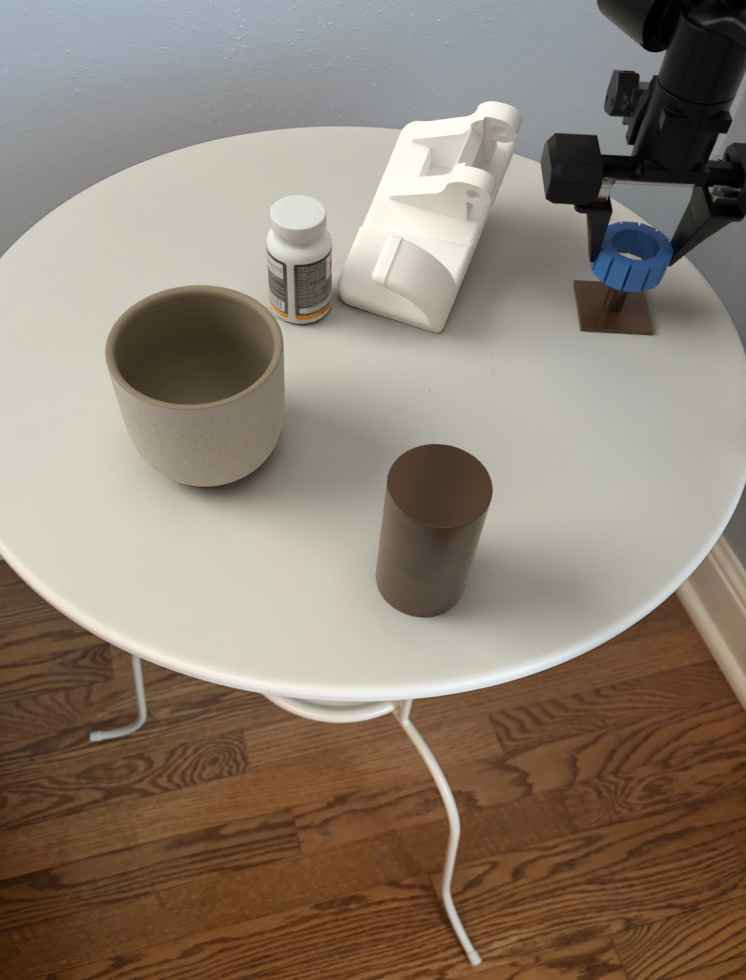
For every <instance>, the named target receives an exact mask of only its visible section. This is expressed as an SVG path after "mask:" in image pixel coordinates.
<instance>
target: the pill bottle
mask: <svg viewBox="0 0 746 980" xmlns="http://www.w3.org/2000/svg"><path fill="white" fill-rule="evenodd" d="M269 224H270V225H269V226H270V229H269V230H268V233H267V234H266V240H265V247H266V248H265V249H266V260H267V261H266V262H267V263H266V264H267V274H268V275H267V278H268V295H269V304H270V308H271V309H272V311H273V313H274V314H275V316H277V317H278V318H280V319H282V320H283V321H285V322H287V323H292V324H297V325H304V324H311V323H314V322H317V321H319V320H321V319H322V318H324V317H325V316H326V315H328V312H329V310H330V309H331V306H332V296H333V295H332V293H333V292H332V291H333V289H332V288H333V285H332V282H333V281H332V280H333V279H332V278H333V277H332V275H333V274H332V273H333V272H332V271H333V266H332V263H333V241H332V237H331V234H330V232H329V230H328V228H327V224H328V219H327V209H326V207H325V205H324V204H323V203H322V201H320V200H318V199H317V198H315V197H312V196H310V195H303V194H293V195H287V196H284V197H282V198H280V199H278V200H277V201H276V202H274V203H273V204H272V206H271V208H270V211H269Z"/></svg>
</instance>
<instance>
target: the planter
mask: <svg viewBox="0 0 746 980" xmlns="http://www.w3.org/2000/svg"><path fill="white" fill-rule="evenodd" d="M104 356H105V357H104V358H105V364H106V367H107V371H108V375H109V378H110V381H111V384H112V388H113V390H114V394H115V397H116V400H117V404H118V406H119V407H118V408H119V411H120V414H121V416H122V420H123V422H124V425H125V428H126V432H127V434H128V437H129V438H130V440H131V442H132V443H133V446H134V448H135V449H136V451H137V452H138V454H139V455H140V457H142V459H143V460H144V461H145V462H146V463H147V464H148V465H149V466H151V468H152V469H153V470H155V471H156V472H158V473H159V474H160V475H161V476H163V477H165V478H167V479H169V480H171V481H174V482H177V483H179V484H183V485H187V486H192V487H202V488H203V487H204V488H205V487H206V488H208V487H217V486H223V485H229V484H231V483H234V482H236V481H239V480H241V479H244V478H245V477H248V476H249V475H250V474H252V473H253V472H255V471H256V470H257V469H258V468H260V466H262V465H263V463H265V461H266V460H267V459H268V458H269V457H270V455H271V454H272V452H273V451H274V449H275V447H276V445H277V443H278V441H279V438H280V435H281V432H282V429H283V425H284V424H283V423H284V417H285V405H286V404H285V403H286V402H285V401H286V395H285V394H286V387H285V385H286V382H285V345H284V337H283V332H282V328H281V326H280V324H279V322H278V320H277V319H276V317H275V316H274V314H273V313H272V312H271V311H270V310H269V309H268V308H267V307H266V306H265V305H264V304H262V303H261V302H260V301H258V300H257V299H255V298H254V297H252V296H250V295H248V294H246V293H243V292H241V291H239V290H235V289H231V288H228V287H224V286H217V285H208V284H207V285H206V284H205V285H204V284H192V285H181V286H177V287H171V288H168V289H164V290H160V291H158V292H156V293H153V294H150V295H148V296H146V297H144V298H142V299H140V300H139V301H137V302H136V303H134V304H133V305H131V306H130V307H129V308H127V309H126V310H125V311H124V312H123V313H122V314H121V315H120V316H119V317H118V318H117V320H116V321H115V322H114V324H113V325H112V327H111V329H110V331H109V333H108V335H107V338H106V342H105V347H104Z"/></svg>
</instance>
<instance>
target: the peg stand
mask: <svg viewBox="0 0 746 980" xmlns="http://www.w3.org/2000/svg"><path fill="white" fill-rule="evenodd" d="M605 283H606V282H603V283H602V282H601V281H600V280H586V279H585V280H582V279H574V280H573V281H572V287H573V293H574V299H575V306H576V312H577V318H578V324H579V330H580V332H595V333H596V332H597V333H613V334H628V335H629V334H630V335H631V334H632V335H649V336H650V335H651V336H653V334H654V331H655V330H654V326H653V322H652V318H651V314H650V309H649V305H648V300H647V295H646V291H644V292H642V291H641V290H640V292H624V291H623V287H622V289H621V290H620V291H619V290H617V289H615V288H612V287H610V286H607V285H605Z"/></svg>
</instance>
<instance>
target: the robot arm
mask: <svg viewBox="0 0 746 980" xmlns="http://www.w3.org/2000/svg"><path fill="white" fill-rule="evenodd" d="M596 5H597V7H598V10H599V12H600V14H602V16H603V17H605V18H606V19H607V20H608V21H609V22H611V23H612V24H613V25H614V26H615V27H616V28H618V29H620V31H622V32H623V33H624V34H625V35H627V37H629V38H630V39H631V40H632V41H634V42H635V43H636V44H637V45H639V47H641V48H642V49H643V50H644V51H647V52H649V53H657V54H658V53H662V52H664V51H665V54H664V56H663V59H662V63H661V64H660V65H661V66H660V68H659V71H658V74H652V77H651V79H650V81H640V80H641V75H640V73H638V72H636V71H635V70H626V69H625V70H623V69H613V71H612V73H611V77H610V80H609V83H608V86H607V89H606V94H605V99H604V103H603V111H604V112H605V114H607V115H608V116H609V117H618V118H622V120H621V124H622V125H623V126H628V127H627V130H626V133H625V140H626V141H625V142H626V145H627V146H633V148H632V150H631V154H630V155H622V154H604V153H602V151H601V147H600V141H599V138H598V134H587V133H586V134H585V133H567V132H555V133H553V134H552V135H551V136H550V137H549V138H548V139H547V140H546V141H545V142H544V144H543V149H542V153H541V157H540V163H539V164H540V171H541V178H542V184H543V185H542V186H543V190H544V198H545V200H546V201H548V202H550V203H551V204H554V205H571V206H572V205H573V210H574V211H575V212H576V213H579V214H585V215H586V230H587V231H586V232H587V233H586V234H587V255H588V261H589V263H590V262H594V261H595V260H596V258H597V256H598V255H599V253H600V250H601V246H602V243H603V240H604V237H605V234H606V231H607V228H608V225H610V221H611V217H612V215H613V211H614V209H613V203H612V200H611V195H610V194H611V191H612V188H613V186H614V185H635V186H636V185H637V186H651V187H652V186H653V187H672V188H689V189H691V188H692V191H691V195H690V199H689V202H688V204H687V206H686V208H685V210H684V212H683V215H682V216H681V218H680V221H679V223H678V225H677V226H676V228H675V231H674V232H673V235H672V237H671V239H670V241H671V244H672V248H673V256H672V258H671V260H670V263H669V265H668V267H669V268H670V267H672V266H673V265H675V264H676V263H677V262H679V260H681V259H682V258H683V257H684V256H686V255H687V254H689V253H690V252H691V251H692V250H694V249H695V248H696V247H697V246H699V245H700V244H701V243H703V242H704V241H705V240H707V239H708V238H710V237H711V236H713V235H715V234H716V233H717V232H720V230H722V229H723V228H725V227H726V226H728V225H729V224H731V223H740V222H742V221H743V220H745V218H746V142H733V143H730V144H729V145H727V146H726V148H725V150H724V152H723V154H717V155H713V156H712V157H711V154H712V152H713V151H714V148H715V146H716V143H717V140H718V139H719V137H720V134H722V135H727V134H728V132H729V130H730V128H731V126H732V124H733V117H732V114H731V112H730V110H731V108H732V106H733V103H734V101H735V98H736V96H737V94H738V91H739V89H740V86H741V84H742V82H743V79H744V77H745V74H746V0H596ZM710 157H711V158H710ZM668 267H667V268H668Z"/></svg>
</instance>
